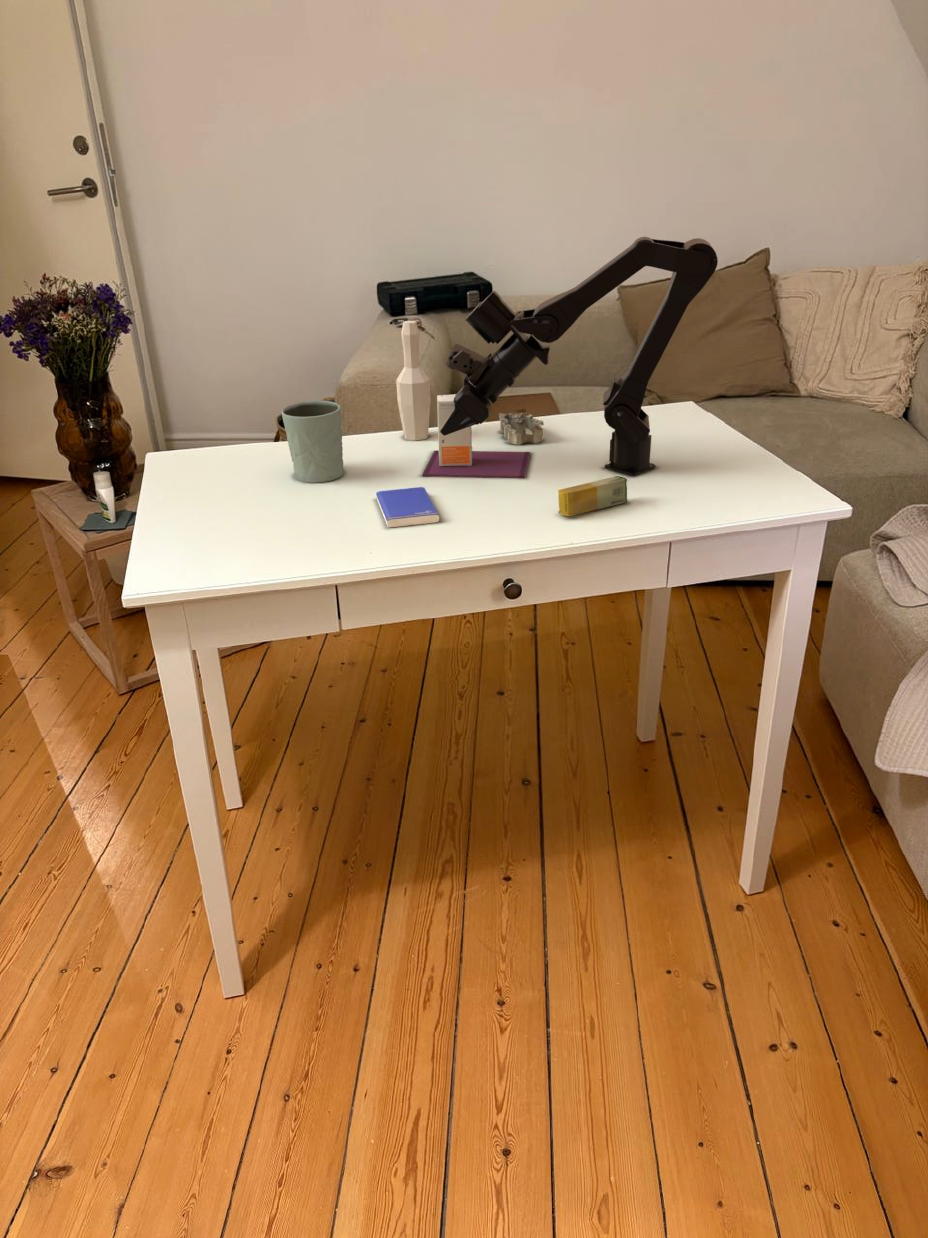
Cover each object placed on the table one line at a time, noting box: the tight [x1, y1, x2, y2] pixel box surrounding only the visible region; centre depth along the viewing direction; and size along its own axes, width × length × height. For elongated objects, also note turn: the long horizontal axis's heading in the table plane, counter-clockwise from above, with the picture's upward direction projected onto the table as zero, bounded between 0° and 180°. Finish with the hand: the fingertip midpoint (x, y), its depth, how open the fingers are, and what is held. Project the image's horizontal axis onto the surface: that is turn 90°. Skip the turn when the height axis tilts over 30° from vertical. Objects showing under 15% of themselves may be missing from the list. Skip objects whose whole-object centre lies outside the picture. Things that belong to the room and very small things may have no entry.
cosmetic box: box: [436, 393, 473, 466], centre depth 172 cm, size 6×4×12 cm
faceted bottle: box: [395, 320, 431, 441], centre depth 185 cm, size 6×6×22 cm
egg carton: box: [498, 412, 545, 446], centre depth 188 cm, size 11×8×4 cm
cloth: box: [421, 450, 531, 479], centre depth 175 cm, size 18×13×1 cm
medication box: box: [557, 475, 628, 517], centre depth 153 cm, size 12×3×4 cm, turn 121°
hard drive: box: [375, 486, 440, 528], centre depth 156 cm, size 2×8×12 cm
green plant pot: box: [281, 400, 344, 484], centre depth 170 cm, size 10×10×12 cm
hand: (446, 425), depth 172 cm, fingers open, 9 cm apart
